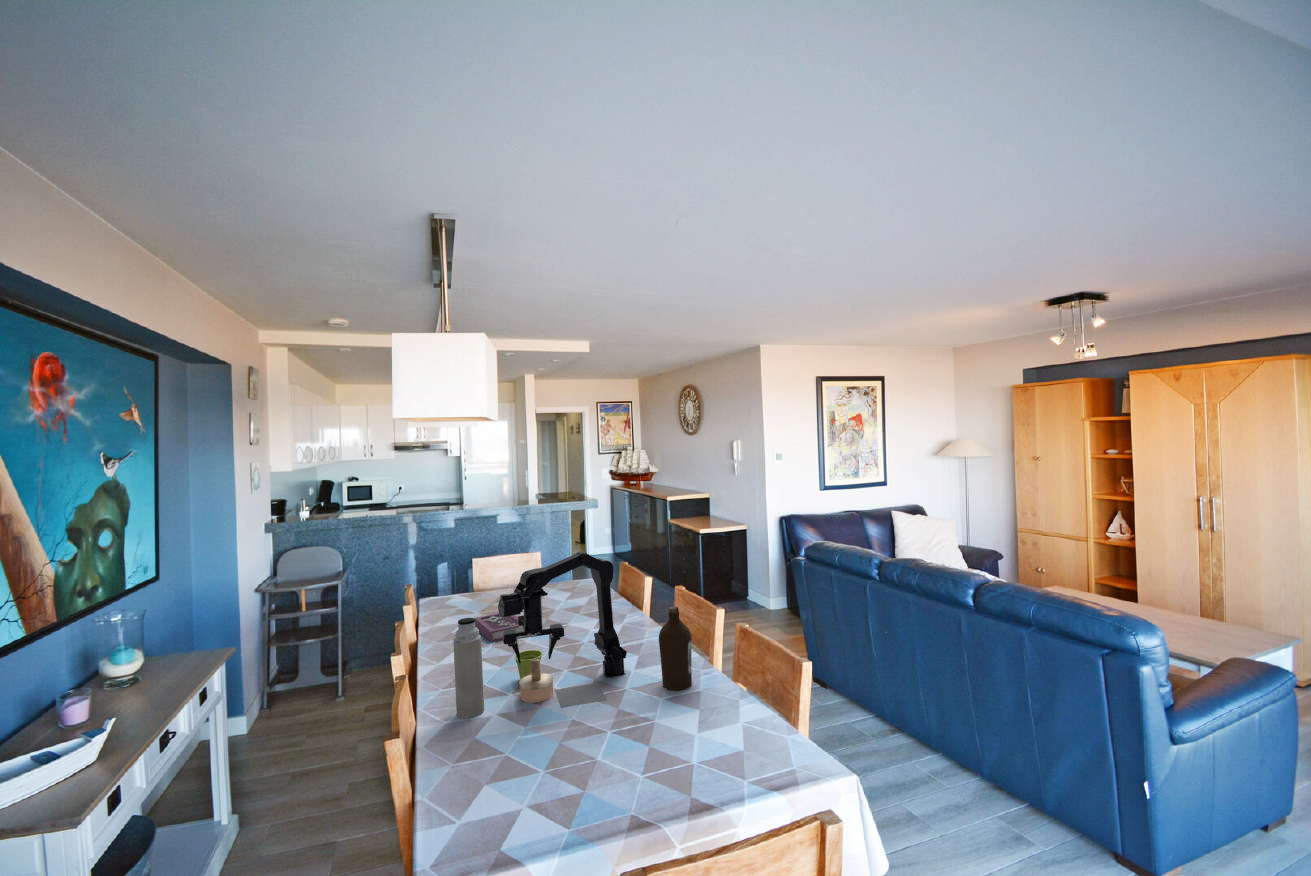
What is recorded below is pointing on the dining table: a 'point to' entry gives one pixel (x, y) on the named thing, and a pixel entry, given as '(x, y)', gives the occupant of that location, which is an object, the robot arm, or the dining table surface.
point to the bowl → (536, 694)
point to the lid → (536, 678)
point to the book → (496, 626)
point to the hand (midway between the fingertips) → (534, 660)
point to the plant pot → (527, 661)
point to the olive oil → (675, 653)
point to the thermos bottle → (468, 670)
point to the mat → (580, 695)
